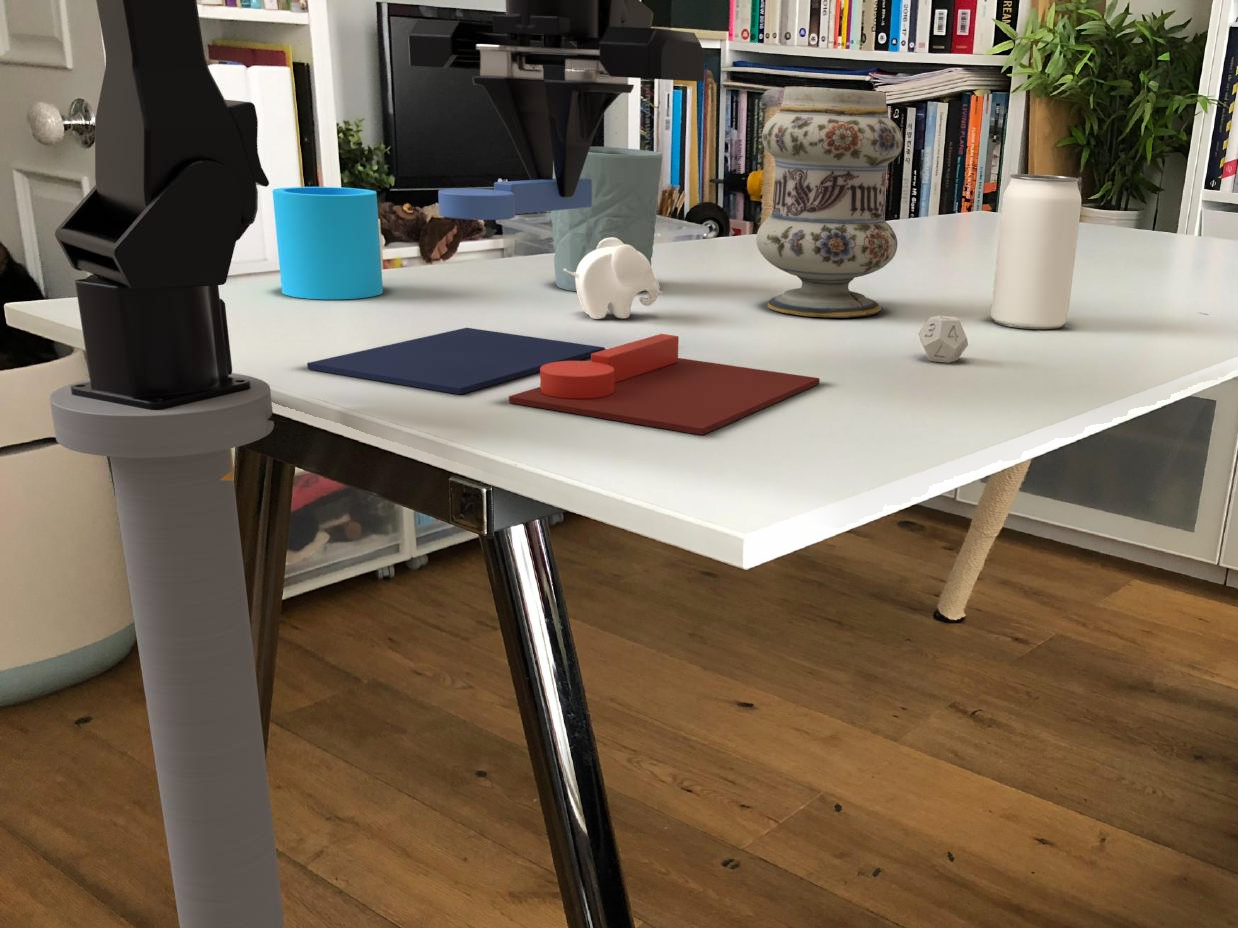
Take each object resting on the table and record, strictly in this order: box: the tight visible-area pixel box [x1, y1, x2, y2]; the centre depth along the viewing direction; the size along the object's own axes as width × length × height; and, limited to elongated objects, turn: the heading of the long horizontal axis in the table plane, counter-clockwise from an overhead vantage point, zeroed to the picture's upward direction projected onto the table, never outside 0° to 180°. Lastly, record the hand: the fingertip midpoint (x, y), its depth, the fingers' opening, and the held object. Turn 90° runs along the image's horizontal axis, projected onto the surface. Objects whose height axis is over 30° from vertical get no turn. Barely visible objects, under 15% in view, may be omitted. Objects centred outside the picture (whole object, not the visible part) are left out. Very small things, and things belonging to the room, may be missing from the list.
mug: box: [271, 186, 384, 300], centre depth 111 cm, size 12×8×8 cm
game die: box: [918, 315, 969, 364], centre depth 95 cm, size 4×4×3 cm
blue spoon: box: [437, 178, 592, 221], centre depth 81 cm, size 13×4×2 cm, turn 154°
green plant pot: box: [550, 146, 663, 292], centre depth 118 cm, size 10×10×12 cm
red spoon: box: [539, 333, 679, 399], centre depth 82 cm, size 13×4×2 cm, turn 155°
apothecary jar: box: [755, 85, 904, 319], centre depth 111 cm, size 12×12×18 cm
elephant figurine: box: [563, 237, 664, 320], centre depth 105 cm, size 7×8×6 cm
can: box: [990, 173, 1082, 330], centre depth 110 cm, size 6×6×12 cm
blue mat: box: [306, 327, 606, 395], centre depth 87 cm, size 16×12×1 cm
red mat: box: [508, 357, 820, 436], centre depth 81 cm, size 16×13×1 cm
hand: (555, 196), depth 84 cm, fingers closed on blue spoon, 1 cm apart
